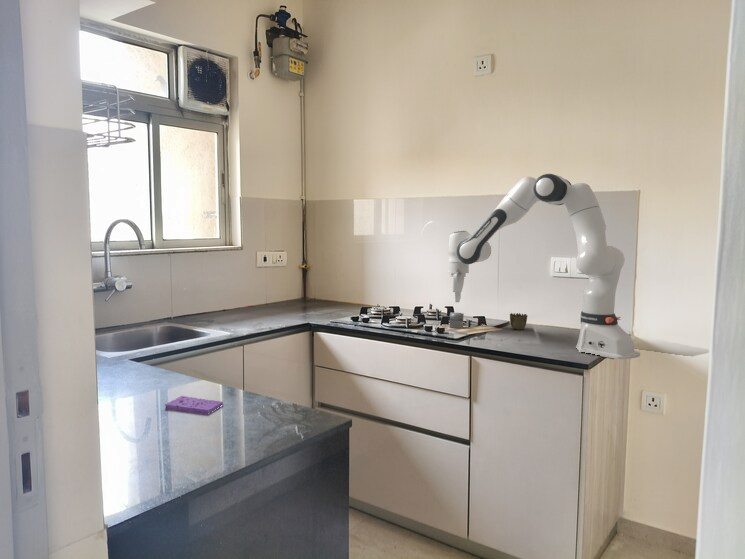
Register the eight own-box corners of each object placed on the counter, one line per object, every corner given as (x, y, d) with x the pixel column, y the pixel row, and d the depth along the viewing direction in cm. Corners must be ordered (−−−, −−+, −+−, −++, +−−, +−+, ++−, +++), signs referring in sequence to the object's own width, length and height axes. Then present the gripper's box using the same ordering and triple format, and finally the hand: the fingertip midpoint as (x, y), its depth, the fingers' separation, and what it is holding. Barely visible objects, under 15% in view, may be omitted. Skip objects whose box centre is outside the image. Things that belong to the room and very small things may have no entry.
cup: (527, 334, 241) (528, 316, 241) (509, 333, 243) (510, 315, 242) (526, 331, 249) (526, 313, 248) (508, 330, 250) (509, 312, 249)
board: (502, 332, 245) (503, 329, 245) (468, 337, 234) (468, 333, 234) (470, 325, 261) (470, 321, 261) (436, 329, 250) (436, 325, 250)
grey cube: (463, 326, 250) (463, 312, 249) (462, 328, 244) (463, 314, 244) (449, 325, 251) (450, 311, 250) (449, 328, 245) (449, 313, 245)
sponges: (181, 402, 149) (181, 395, 149) (224, 407, 145) (224, 400, 145) (164, 411, 142) (164, 403, 142) (208, 416, 138) (208, 409, 138)
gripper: (465, 270, 235) (464, 304, 236) (466, 267, 255) (465, 298, 256) (449, 270, 236) (449, 303, 237) (452, 267, 256) (451, 297, 257)
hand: (457, 300), depth 247 cm, fingers open, 8 cm apart
